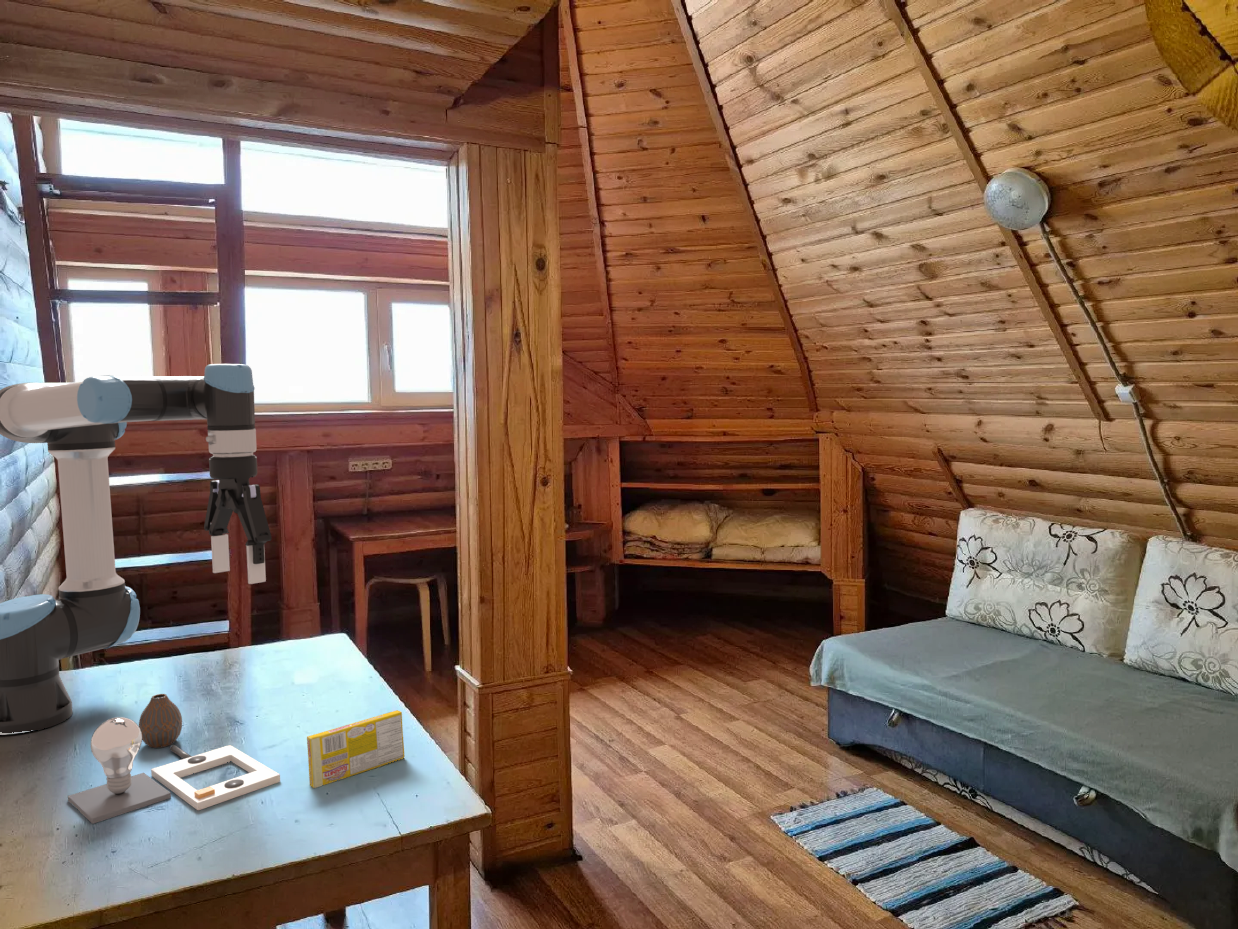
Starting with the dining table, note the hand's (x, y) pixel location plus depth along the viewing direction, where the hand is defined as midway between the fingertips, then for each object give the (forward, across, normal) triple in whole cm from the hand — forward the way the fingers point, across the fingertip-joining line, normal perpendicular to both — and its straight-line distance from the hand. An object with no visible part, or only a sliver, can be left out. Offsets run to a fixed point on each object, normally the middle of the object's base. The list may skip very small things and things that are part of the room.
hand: (238, 577), depth 154 cm
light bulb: (+30, +4, -22) cm, 37 cm away
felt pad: (+31, +4, -22) cm, 38 cm away
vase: (+31, -14, -9) cm, 35 cm away
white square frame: (+31, +4, -9) cm, 32 cm away
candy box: (+31, +23, +8) cm, 39 cm away
